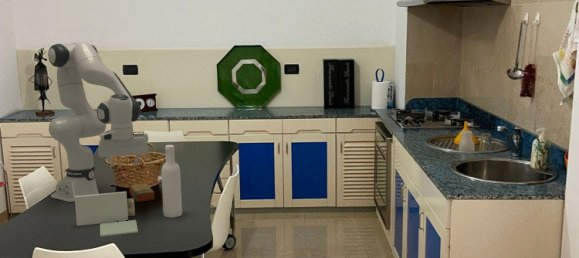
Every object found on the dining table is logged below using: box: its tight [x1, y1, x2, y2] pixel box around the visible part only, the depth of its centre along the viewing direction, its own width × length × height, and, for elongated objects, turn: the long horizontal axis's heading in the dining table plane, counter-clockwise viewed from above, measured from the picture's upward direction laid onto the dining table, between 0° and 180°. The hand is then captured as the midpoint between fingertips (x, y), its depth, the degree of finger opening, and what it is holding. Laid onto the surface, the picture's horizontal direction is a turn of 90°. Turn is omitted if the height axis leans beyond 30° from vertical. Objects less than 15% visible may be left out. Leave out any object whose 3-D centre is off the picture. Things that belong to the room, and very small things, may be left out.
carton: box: [129, 183, 155, 203], centre depth 275 cm, size 8×16×4 cm, turn 27°
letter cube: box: [127, 197, 136, 217], centre depth 249 cm, size 6×6×6 cm
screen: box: [74, 191, 129, 227], centre depth 238 cm, size 20×2×12 cm, turn 108°
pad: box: [99, 219, 139, 238], centre depth 231 cm, size 14×14×1 cm
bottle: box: [160, 144, 183, 219], centre depth 245 cm, size 8×8×30 cm
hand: (124, 165), depth 246 cm, fingers open, 8 cm apart
